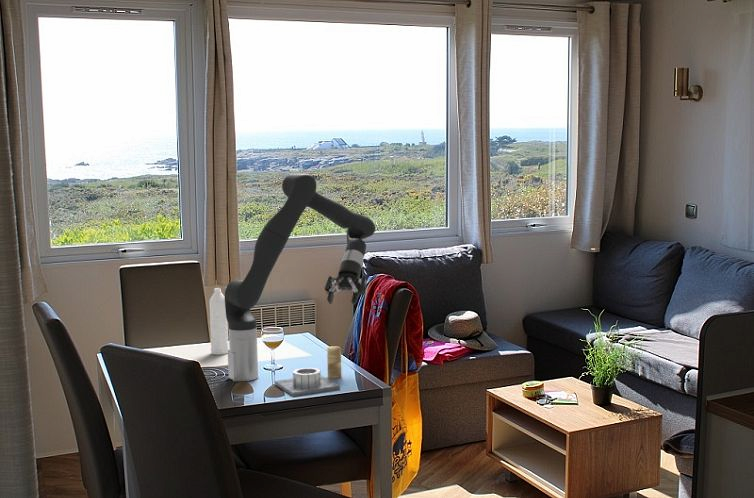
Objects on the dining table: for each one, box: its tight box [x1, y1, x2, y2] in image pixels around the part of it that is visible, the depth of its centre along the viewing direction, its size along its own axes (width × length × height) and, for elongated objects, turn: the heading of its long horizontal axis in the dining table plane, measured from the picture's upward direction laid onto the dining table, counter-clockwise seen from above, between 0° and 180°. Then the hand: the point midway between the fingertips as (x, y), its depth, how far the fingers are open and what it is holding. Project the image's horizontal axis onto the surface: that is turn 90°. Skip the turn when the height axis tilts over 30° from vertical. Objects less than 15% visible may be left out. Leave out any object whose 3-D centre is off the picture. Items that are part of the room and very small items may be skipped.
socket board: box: [274, 367, 341, 397], centre depth 280 cm, size 16×16×5 cm
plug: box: [326, 345, 342, 380], centre depth 292 cm, size 5×5×10 cm
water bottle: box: [208, 287, 230, 356], centre depth 329 cm, size 9×6×25 cm
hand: (341, 303), depth 299 cm, fingers open, 8 cm apart
